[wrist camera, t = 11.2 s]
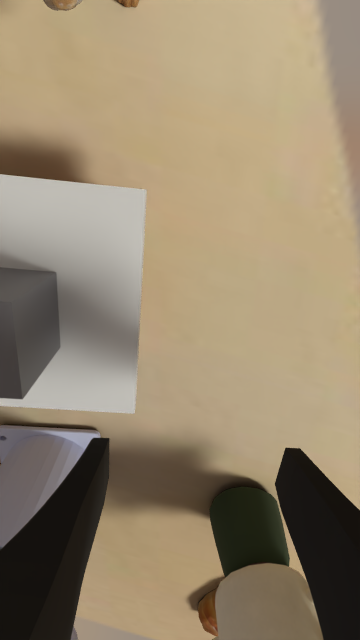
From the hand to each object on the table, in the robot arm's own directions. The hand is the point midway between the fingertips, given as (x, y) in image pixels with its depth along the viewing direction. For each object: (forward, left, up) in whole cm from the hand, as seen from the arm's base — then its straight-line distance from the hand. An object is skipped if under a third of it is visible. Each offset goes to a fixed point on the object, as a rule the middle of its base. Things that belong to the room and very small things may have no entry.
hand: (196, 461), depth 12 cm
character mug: (-16, -7, -11) cm, 20 cm away
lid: (+4, +9, -6) cm, 11 cm away
